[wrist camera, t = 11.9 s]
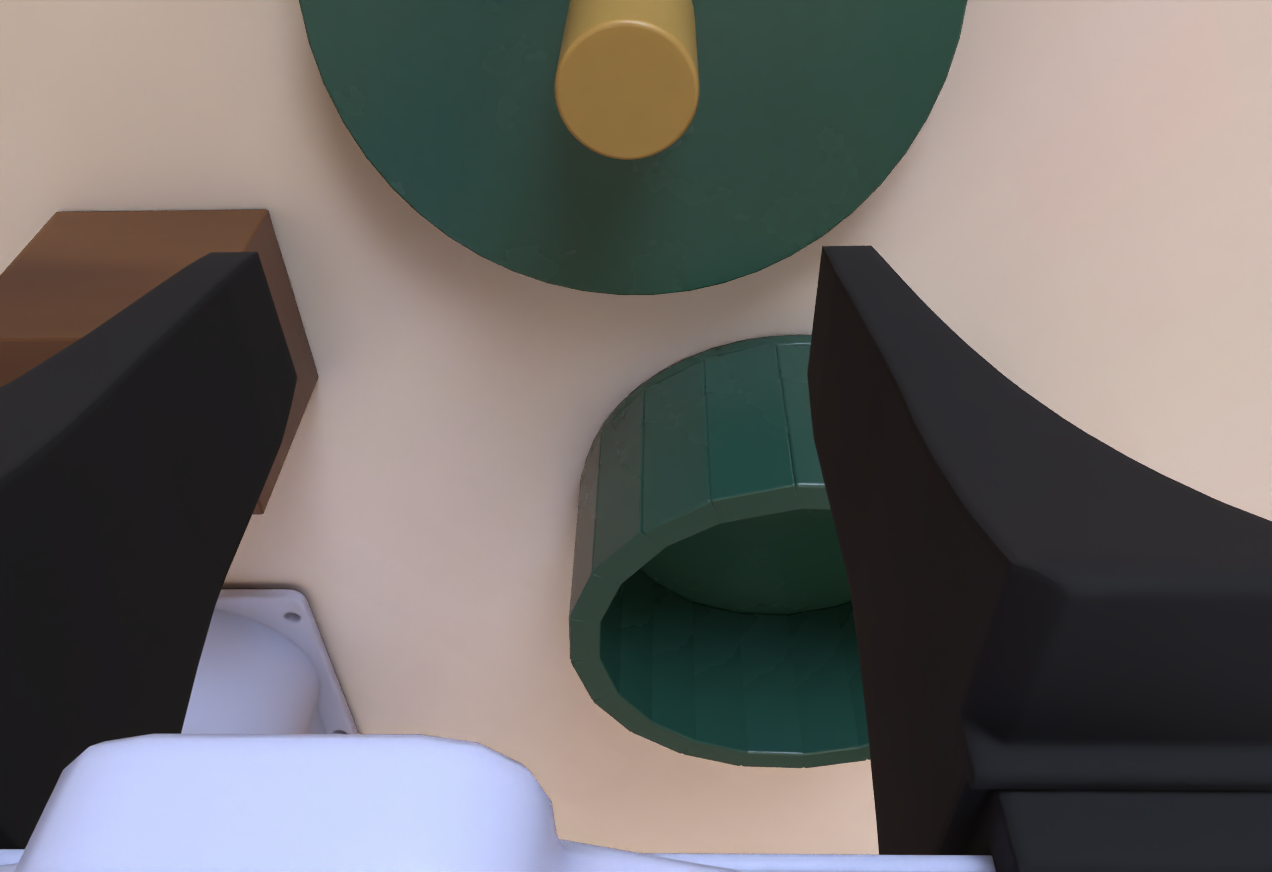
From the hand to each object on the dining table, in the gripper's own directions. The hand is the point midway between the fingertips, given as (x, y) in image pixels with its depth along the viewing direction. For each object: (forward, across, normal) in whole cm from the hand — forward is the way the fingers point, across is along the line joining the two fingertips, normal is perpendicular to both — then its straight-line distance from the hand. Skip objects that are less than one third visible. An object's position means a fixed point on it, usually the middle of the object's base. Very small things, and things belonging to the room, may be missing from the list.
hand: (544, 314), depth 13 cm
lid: (+9, -1, -1) cm, 9 cm away
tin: (+10, -5, +13) cm, 17 cm away
